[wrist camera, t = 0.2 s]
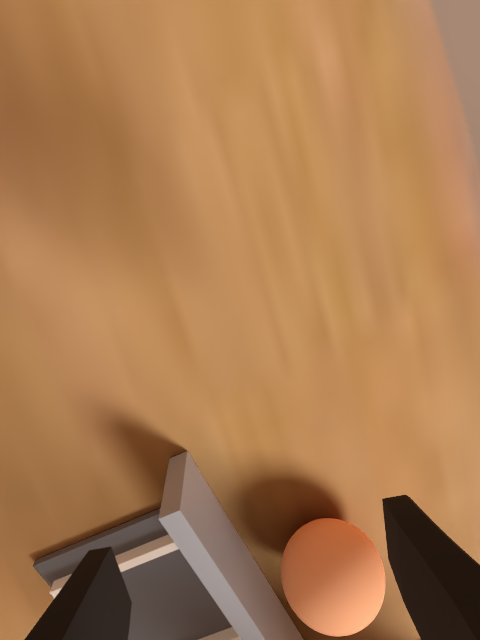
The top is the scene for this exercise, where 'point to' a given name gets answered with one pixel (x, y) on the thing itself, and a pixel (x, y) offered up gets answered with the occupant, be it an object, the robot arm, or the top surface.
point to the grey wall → (220, 555)
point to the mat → (148, 582)
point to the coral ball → (333, 577)
